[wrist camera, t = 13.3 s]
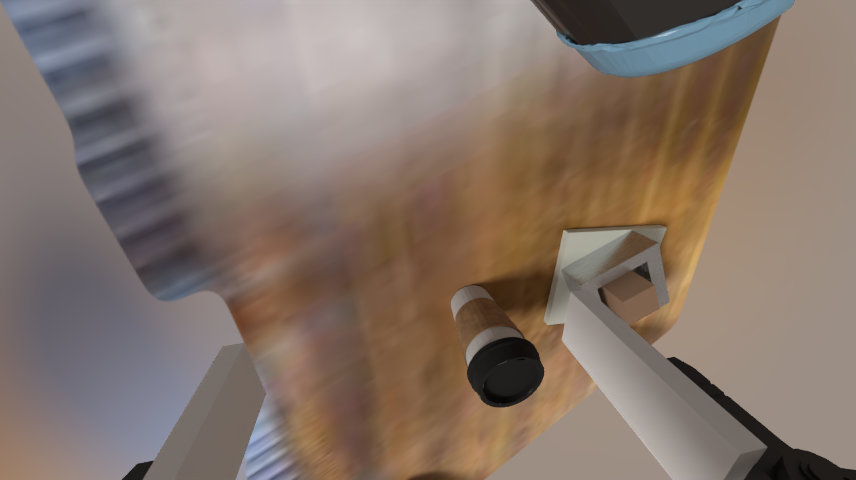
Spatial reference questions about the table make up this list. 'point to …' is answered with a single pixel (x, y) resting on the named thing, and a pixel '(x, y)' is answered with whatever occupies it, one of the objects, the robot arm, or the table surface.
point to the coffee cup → (494, 350)
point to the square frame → (619, 265)
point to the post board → (579, 250)
